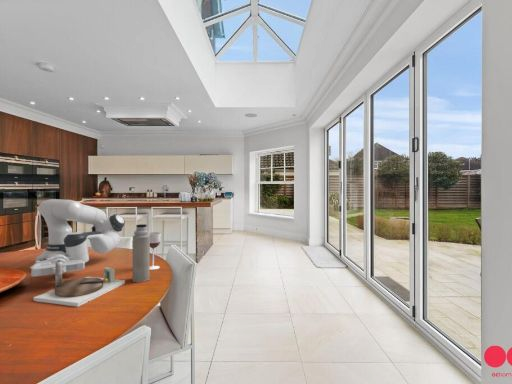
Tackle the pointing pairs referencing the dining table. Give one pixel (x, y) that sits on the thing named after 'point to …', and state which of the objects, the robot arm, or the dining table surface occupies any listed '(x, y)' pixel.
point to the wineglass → (154, 246)
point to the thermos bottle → (141, 254)
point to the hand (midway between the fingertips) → (60, 272)
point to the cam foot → (75, 284)
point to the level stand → (82, 299)
